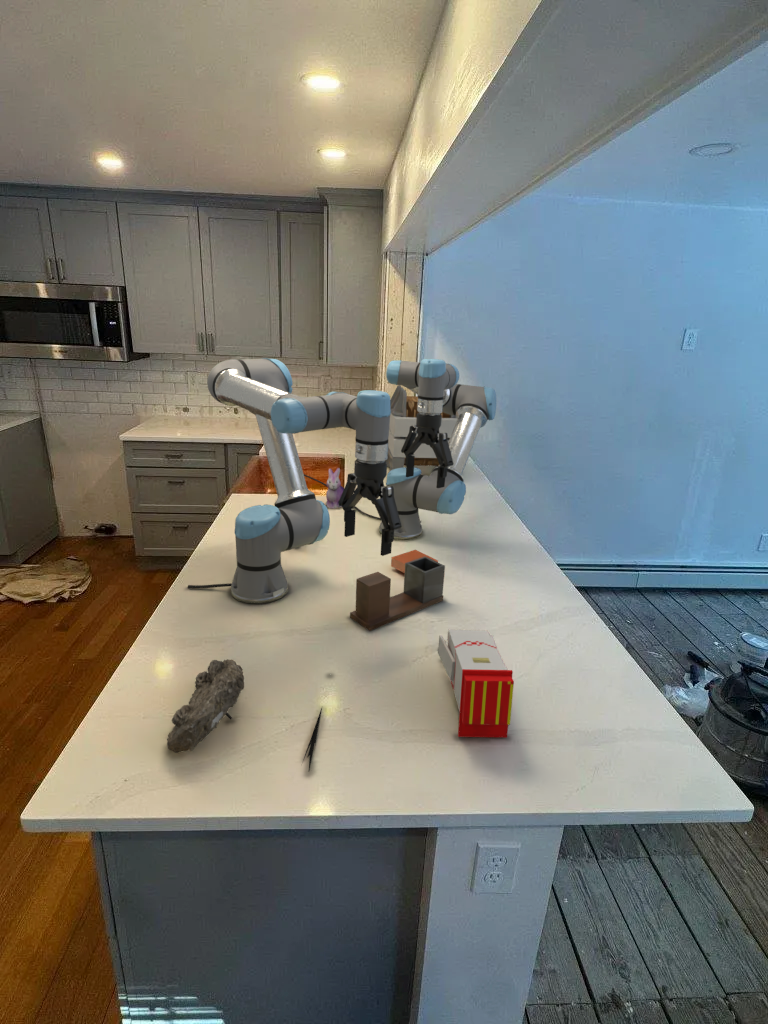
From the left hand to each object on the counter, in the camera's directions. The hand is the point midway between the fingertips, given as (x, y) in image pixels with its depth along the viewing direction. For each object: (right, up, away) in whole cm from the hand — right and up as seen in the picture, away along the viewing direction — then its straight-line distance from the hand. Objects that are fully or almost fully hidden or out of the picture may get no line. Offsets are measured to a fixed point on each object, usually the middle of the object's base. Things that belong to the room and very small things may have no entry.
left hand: (367, 544), depth 138 cm
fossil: (-29, -31, -29) cm, 52 cm away
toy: (+22, -30, -19) cm, 42 cm away
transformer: (+21, +27, +137) cm, 142 cm away
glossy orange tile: (+13, -10, +34) cm, 38 cm away
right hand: (+17, +17, +38) cm, 45 cm away
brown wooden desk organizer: (+8, -18, +13) cm, 23 cm away
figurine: (-15, +10, +88) cm, 90 cm away
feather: (-8, -32, -29) cm, 44 cm away
